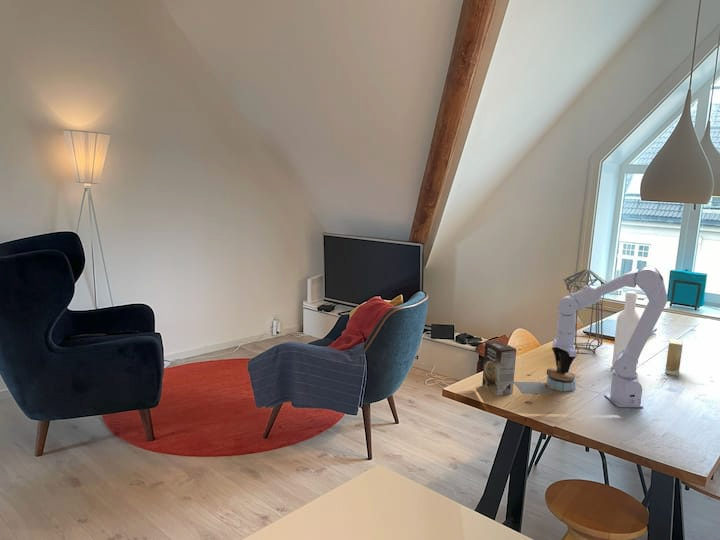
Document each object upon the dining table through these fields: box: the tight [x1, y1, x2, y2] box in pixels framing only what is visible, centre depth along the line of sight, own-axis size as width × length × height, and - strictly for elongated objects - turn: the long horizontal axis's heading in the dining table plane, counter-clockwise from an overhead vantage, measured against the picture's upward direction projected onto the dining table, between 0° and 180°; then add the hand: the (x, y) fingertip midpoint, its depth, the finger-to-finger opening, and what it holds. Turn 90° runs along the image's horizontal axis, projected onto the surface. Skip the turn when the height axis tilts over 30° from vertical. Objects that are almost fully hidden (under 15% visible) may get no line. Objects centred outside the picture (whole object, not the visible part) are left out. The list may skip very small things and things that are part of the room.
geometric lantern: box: [563, 269, 608, 355], centre depth 216 cm, size 16×16×35 cm
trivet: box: [513, 381, 553, 395], centre depth 175 cm, size 10×10×1 cm
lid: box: [546, 360, 576, 381], centre depth 176 cm, size 9×9×5 cm
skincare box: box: [664, 338, 684, 377], centre depth 194 cm, size 6×4×12 cm
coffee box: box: [481, 340, 517, 396], centre depth 172 cm, size 9×6×16 cm
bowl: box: [546, 375, 577, 392], centre depth 177 cm, size 9×9×4 cm
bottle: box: [611, 290, 641, 370], centre depth 195 cm, size 8×8×30 cm
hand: (562, 370), depth 176 cm, fingers closed on lid, 3 cm apart
